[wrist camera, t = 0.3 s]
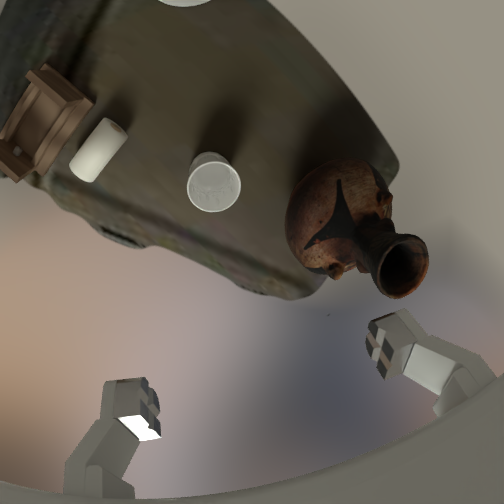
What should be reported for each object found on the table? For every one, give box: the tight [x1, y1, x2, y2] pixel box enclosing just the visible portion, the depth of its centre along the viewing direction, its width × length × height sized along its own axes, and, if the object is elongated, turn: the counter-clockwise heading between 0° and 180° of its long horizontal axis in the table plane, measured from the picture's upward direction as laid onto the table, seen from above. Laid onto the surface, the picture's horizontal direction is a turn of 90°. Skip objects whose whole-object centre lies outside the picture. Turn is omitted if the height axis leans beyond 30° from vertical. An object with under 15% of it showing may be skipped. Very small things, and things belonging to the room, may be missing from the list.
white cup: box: [187, 151, 241, 212], centre depth 48 cm, size 8×8×10 cm
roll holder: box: [0, 63, 95, 183], centre depth 36 cm, size 16×13×10 cm
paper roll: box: [69, 118, 128, 182], centre depth 44 cm, size 10×6×6 cm, turn 131°
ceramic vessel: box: [285, 158, 429, 299], centre depth 47 cm, size 21×18×30 cm
